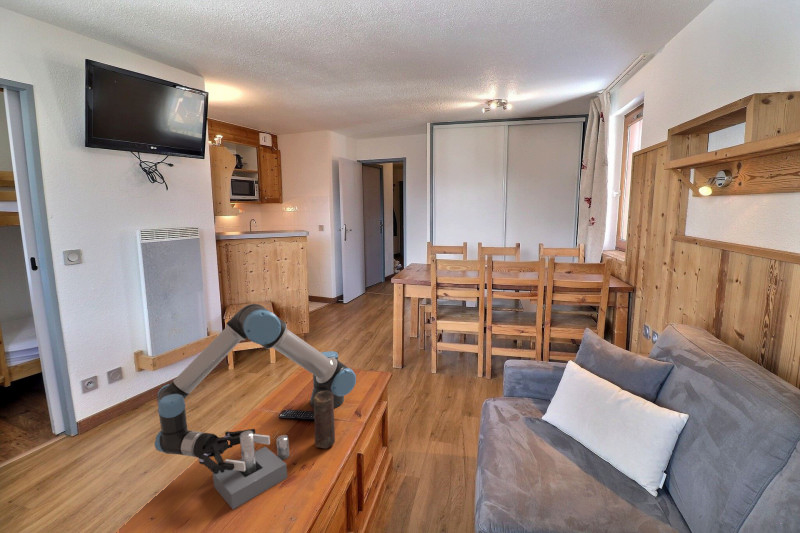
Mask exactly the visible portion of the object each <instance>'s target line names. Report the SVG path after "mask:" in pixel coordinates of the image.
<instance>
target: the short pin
mask: <svg viewBox="0 0 800 533" xmlns="http://www.w3.org/2000/svg"><path fill="white" fill-rule="evenodd" d="M276 451H277V457H279V458H280V459H281V460H282V461H285V460H286V459H288V458H289V457H290V445H289V436H288V435H287V434H282V435H279V436H277V437H276Z"/></svg>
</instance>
